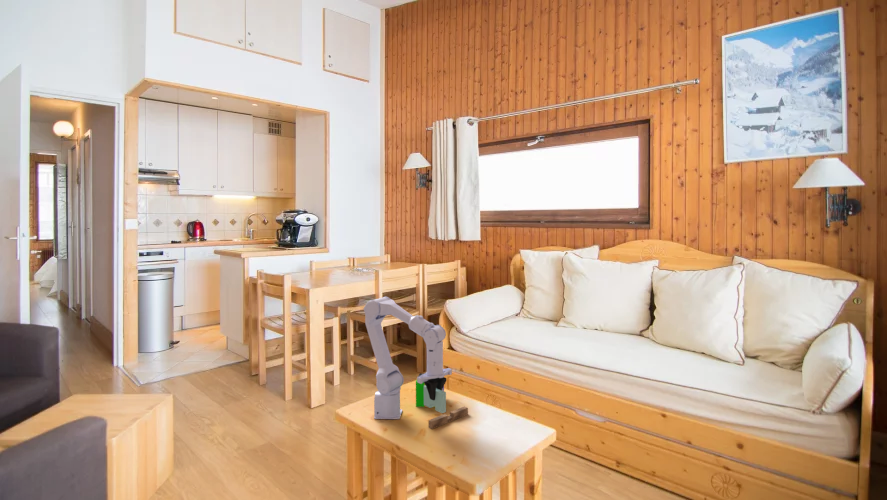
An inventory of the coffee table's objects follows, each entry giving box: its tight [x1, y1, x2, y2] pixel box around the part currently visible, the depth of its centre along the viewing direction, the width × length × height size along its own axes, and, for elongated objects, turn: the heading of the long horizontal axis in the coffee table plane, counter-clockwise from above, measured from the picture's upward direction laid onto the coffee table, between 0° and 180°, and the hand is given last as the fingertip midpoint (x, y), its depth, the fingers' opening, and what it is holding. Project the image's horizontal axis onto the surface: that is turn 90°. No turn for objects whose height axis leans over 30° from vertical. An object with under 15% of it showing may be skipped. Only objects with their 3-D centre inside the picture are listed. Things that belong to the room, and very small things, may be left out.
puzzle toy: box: [415, 372, 445, 408], centre depth 186 cm, size 10×10×10 cm
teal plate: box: [424, 385, 447, 414], centre depth 164 cm, size 10×2×7 cm, turn 42°
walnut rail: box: [427, 405, 469, 430], centre depth 169 cm, size 18×2×3 cm, turn 132°
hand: (434, 398), depth 164 cm, fingers closed on teal plate, 2 cm apart
